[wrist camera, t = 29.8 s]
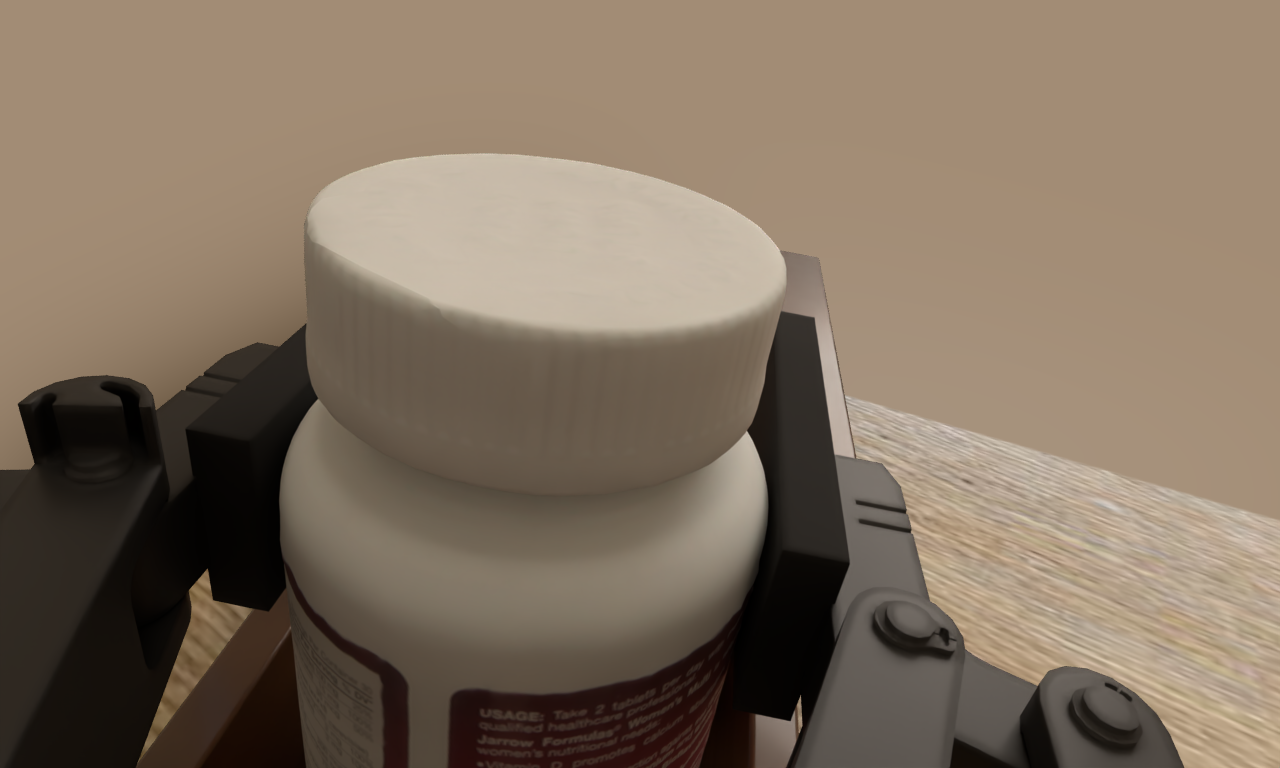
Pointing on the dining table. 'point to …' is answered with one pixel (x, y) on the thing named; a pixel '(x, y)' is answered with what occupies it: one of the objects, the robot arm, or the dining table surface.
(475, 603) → the pill bottle
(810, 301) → the cabinet
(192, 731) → the drawer
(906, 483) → the dining table surface
